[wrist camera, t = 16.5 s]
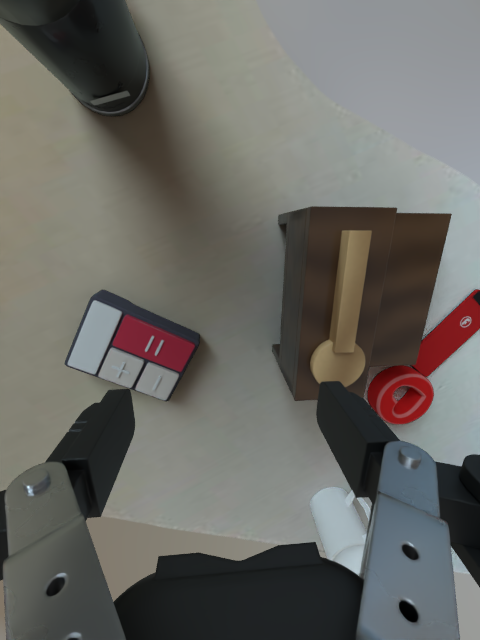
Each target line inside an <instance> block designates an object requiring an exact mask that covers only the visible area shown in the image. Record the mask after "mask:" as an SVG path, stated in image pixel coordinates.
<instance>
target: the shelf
mask: <svg viewBox="0 0 480 640" xmlns="http://www.w3.org/2000/svg"><path fill="white" fill-rule="evenodd" d="M396 212H397V208H383V207H308V208H304V209H300V210H296V211H292V212H288V213H284V214H280V215H279V216H278V224H287V232H286V249H285V267H284V284H283V301H282V319H281V336H280V344H273V345H272V352H273V354H274V356H275V358H276V361H277V363H278V365H279V367H280V369H281V372H282V374H283V376H284V378H285V380H286V382H287V385H288V387H289V389H290V391H291V393H292V395H293V397H294V400H295V401H302V400H318V394H319V386H320V384H319V383H318V382H317V381H316V379H315V378H314V376H313V375H312V372H311V369H310V360H311V356H312V354H313V352H314V351H315V349H316V348H317V347H318V346H319V345H320V344H321V343H323V342H324V341H326V340H329V337H330V328H331V320H332V311H333V303H334V294H335V286H336V277H337V269H338V260H339V252H340V243H341V235H342V231H372V234H371V241H370V247H369V254H368V260H367V267H366V274H365V280H364V287H363V293H362V300H361V307H360V313H359V320H358V326H357V333H356V340H355V343H356V344H357V345H358V346H359V347H360V348H361V349H362V351H363V352H364V355H365V367H364V370H363V372H362V374H361V375H360V377H359V378H358V379H357V380H356V381H355V382H354V383H352V384H351V385H349V386H347V387H345V388H346V389H347V390H348V392H354V393H355V394H357V395H358V396H360V397H361V398H363V397H364V393H365V387H366V381H367V376H368V370H369V367H373V366H400V365H416V361H417V357H418V353H419V349H420V345H421V341H422V336H423V332H424V328H425V324H426V320H427V315H428V311H429V307H430V303H431V299H432V294H433V290H434V286H435V282H436V278H437V273H438V269H439V265H440V261H441V257H442V252H443V248H444V244H445V240H446V236H447V231H448V227H449V223H450V219H451V215H452V214H434V213H396Z"/></svg>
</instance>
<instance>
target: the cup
mask: <svg viewBox="0 0 480 640" xmlns="http://www.w3.org/2000/svg"><path fill="white" fill-rule="evenodd" d="M354 497H356V496H355V495H354V493H353V491H352V490H351V492H350V493H349V495H348V493H347V492H346V491H345V490H344V489H342V488H339V487H328V488H325V489H322V490H320V491H319V492H317V493H316V494H315V495H314V496H313V497H312V499H311V501H310V509H311V512H312V515H313V518H314V521H315V524H316V527H317V530H318V533H319V536H320V539H321V542H322V545H323V548H324V551H325V554H326V557H327V559H329V560H332V561H335V562H337V563H339V564H341V565H343V566H345V567H346V568H348V569H350V570H351V571H353V572H354V573H356V574H357V575H359V573H360V568H361V562H362V557H363V551H364V545H365V540H366V534H367V530H366V528H365V526H364V524H363V522H362V520H361V518H360V516H359V514H358V512H357V510H356V508H355V506H354V504H353V500H354ZM357 500H358V501H359V502H360V504H361V505H362V506H363V508H364V509H365V512H366V515H367V517H368V520H369V517H370V508H369V506H368V505H367V503H366V502H365V501H364V499H363V498H357Z"/></svg>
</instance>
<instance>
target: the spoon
mask: <svg viewBox="0 0 480 640" xmlns="http://www.w3.org/2000/svg"><path fill="white" fill-rule="evenodd" d="M371 234H372V231H342V235H341V243H340V252H339V260H338V269H337V277H336V286H335V294H334V303H333V311H332V320H331V328H330V337H329V340H326V341H324V342H323V343H321V344H320V345H319V346H318V347H317V348H316V349H315V351H314V352H313V354H312V356H311V360H310V369H311V372H312V375H313V376H314V378H315V379H316V381H317V382H318V383H319V384H320V383H321V382H323V381H340V382H341V383H342V384H343V385H344V387H347V386H349V385H351V384H352V383H354V382H355V381H356V380H357V379H358V378H359V377H360V375H361V374H362V372H363V370H364V367H365V355H364V352H363V351H362V349H361V348H360V347H359V346H358V345H357V344H356V343H355V340H356V333H357V326H358V320H359V313H360V307H361V300H362V293H363V287H364V280H365V274H366V267H367V260H368V254H369V247H370V241H371Z"/></svg>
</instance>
